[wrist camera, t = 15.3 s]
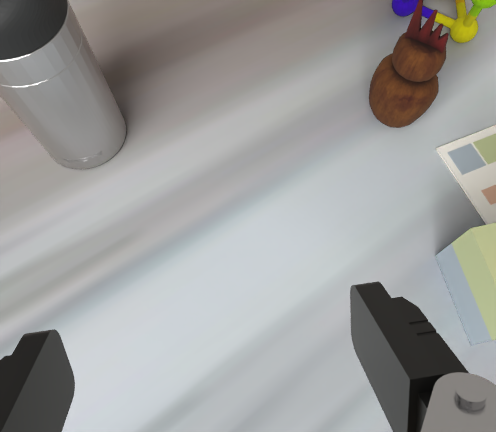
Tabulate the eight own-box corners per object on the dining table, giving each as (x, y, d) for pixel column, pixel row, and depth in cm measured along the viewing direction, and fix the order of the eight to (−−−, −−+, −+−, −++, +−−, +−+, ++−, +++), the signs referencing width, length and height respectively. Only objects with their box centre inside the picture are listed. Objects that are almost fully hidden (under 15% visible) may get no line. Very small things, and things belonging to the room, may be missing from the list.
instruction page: (435, 148, 50) (436, 147, 49) (496, 125, 51) (497, 123, 50) (486, 225, 46) (488, 224, 46) (550, 198, 47) (552, 197, 47)
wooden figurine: (353, 105, 52) (388, 0, 38) (388, 81, 53) (436, -30, 39) (393, 145, 50) (447, 48, 36) (429, 119, 51) (495, 16, 37)
